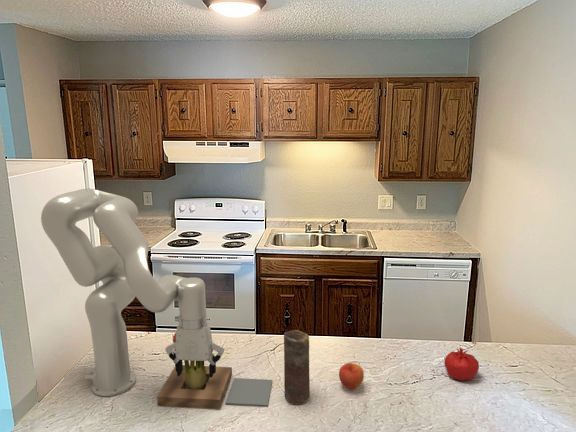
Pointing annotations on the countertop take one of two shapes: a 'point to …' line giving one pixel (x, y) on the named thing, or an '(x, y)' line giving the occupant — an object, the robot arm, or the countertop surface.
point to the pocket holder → (191, 398)
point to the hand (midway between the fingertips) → (196, 374)
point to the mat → (249, 392)
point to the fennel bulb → (195, 375)
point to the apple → (351, 375)
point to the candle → (296, 367)
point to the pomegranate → (461, 365)
